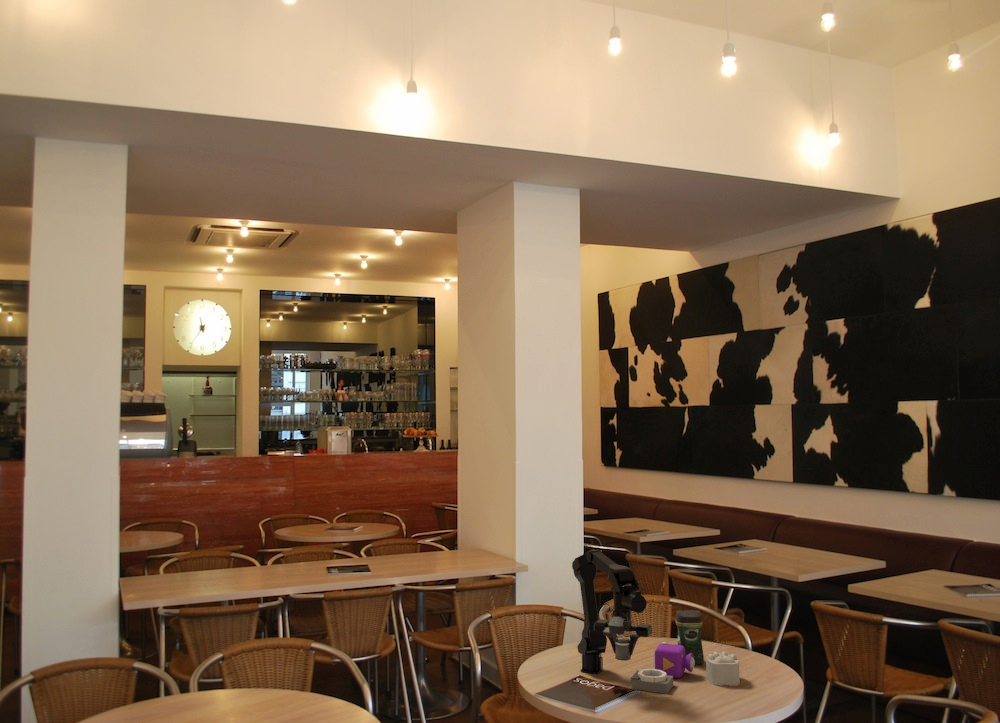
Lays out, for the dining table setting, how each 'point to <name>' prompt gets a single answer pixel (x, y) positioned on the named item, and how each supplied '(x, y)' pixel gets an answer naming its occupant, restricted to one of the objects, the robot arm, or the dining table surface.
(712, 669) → the lumpy-topped squat cylinder
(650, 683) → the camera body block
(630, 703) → the dining table surface
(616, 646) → the lens
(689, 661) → the toy camera
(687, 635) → the coffee jar
